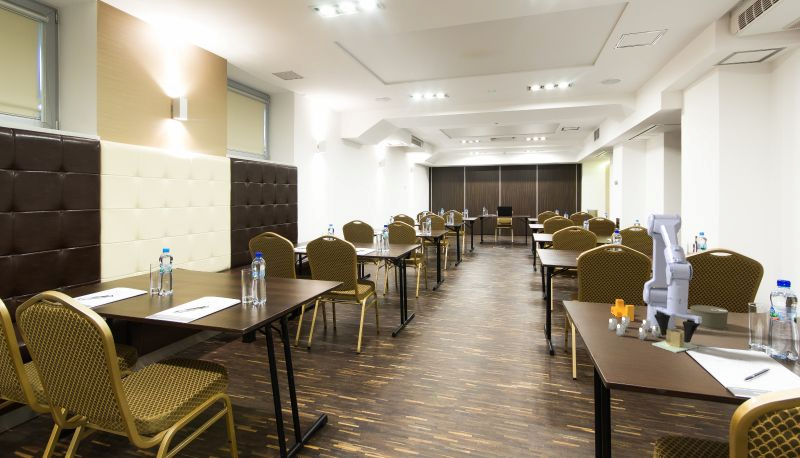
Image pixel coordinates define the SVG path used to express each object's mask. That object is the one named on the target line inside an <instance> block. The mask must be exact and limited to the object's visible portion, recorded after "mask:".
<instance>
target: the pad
mask: <svg viewBox="0 0 800 458" xmlns="http://www.w3.org/2000/svg"><path fill="white" fill-rule="evenodd" d="M651 345H652V346H655V347H657V348H661V349H663V350H667V351H670V352H673V353H675V354H676V353H682V352H685V350H686V351H688V350H687V349H690V350H693V349H692V348H695V349H698V348H697V347H700V346H698V345H695V344H692V343H690V342H689V343H685V342H684V347H681V348H678V347H672V346H669V345H668V344H666V340H662V341H658V342H653V343H651Z"/></svg>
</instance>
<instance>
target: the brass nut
mask: <svg viewBox="0 0 800 458" xmlns="http://www.w3.org/2000/svg"><path fill="white" fill-rule="evenodd" d="M665 336H666V338H665V339H666V340H665V341H666V344H668V345H669V346H672V347H678V348H681V347H684V330H682V329H679V328H675V329H673V328H670V329H667V335H665Z"/></svg>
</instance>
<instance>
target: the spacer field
mask: <svg viewBox="0 0 800 458" xmlns="http://www.w3.org/2000/svg"><path fill="white" fill-rule="evenodd" d="M641 324H642V325H641V326H640V327H639V328H638V340H640V341H648V333H649V332H651V338H654V339H660V338H661V331H660V327H659V325H652V328H650V326H651V321H650V320H647V318H646V319H645V318H644V319H642V323H641ZM626 329H630V321H629V317H627V316H622V318H621V323H618V319H617V318H615V317H613V318H612V317H611V318H609V319H608V330H610V331H616V336H617V337H625V335H626Z"/></svg>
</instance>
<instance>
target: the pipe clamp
mask: <svg viewBox="0 0 800 458" xmlns="http://www.w3.org/2000/svg"><path fill="white" fill-rule="evenodd" d="M610 307H611V308H610V314H611V313H612V314H611V315H613V314H614V315H615V316H614V315H613V316H614V317H616V316H617V317H616V318H620V317H622V316H627V317H629V322H631V321H635V306H634V305H632V304H625V300H623V299H617V298H615V306H613V305H612V306H610Z"/></svg>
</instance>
